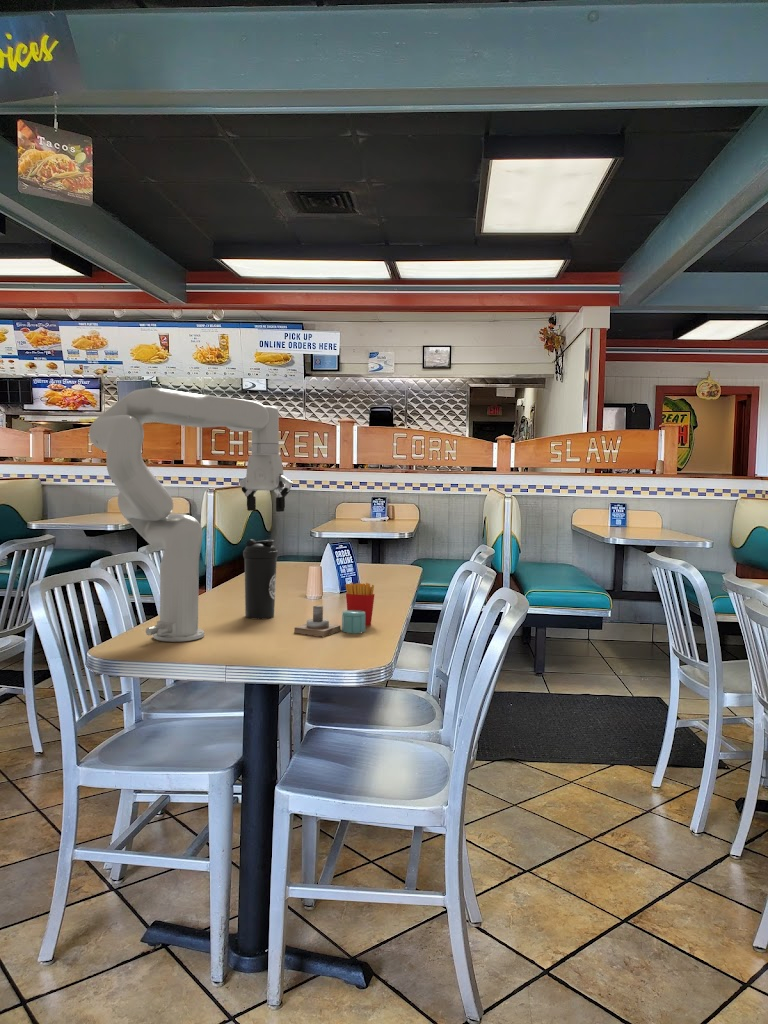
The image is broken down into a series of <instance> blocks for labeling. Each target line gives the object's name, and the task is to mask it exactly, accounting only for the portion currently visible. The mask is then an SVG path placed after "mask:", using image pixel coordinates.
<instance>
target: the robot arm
mask: <svg viewBox="0 0 768 1024" xmlns="http://www.w3.org/2000/svg"><path fill="white" fill-rule="evenodd" d="M279 417H280V414H279V409H278V408H277V407H276V406H271V405H264V404H262V403H260V402H259V401H255V400H249V399H242V398H241V399H240V398H235V397H225V396H215V395H208V394H199V393H193V392H192V393H191V392H188V391H187V392H185V391H180V390H174V389H168V388H164V387H163V388H162V387H147V388H140V389H135V390H133V391H131V392H129V393H128V394H127V395H125V396H123V398H121V399H120V400H118V401H117V402H116V403H114V404H113V405H112V406H111V407H109V408H108V409H106V410H105V411H104V412H103V413H102V414H100V415H99V416H98V417H97V418H96V419H94V421H93V422H92V423H91V425H90V427H89V432H88V435H89V436H88V437H89V440H90V441H91V444H93V445H94V447H95V448H97V449H99V450H100V451H104V452H106V456H105V457H106V458H105V459H106V461H105V462H106V470H107V473H108V476H109V479H110V480H111V482H113V483H112V484H114V485H115V486H116V488H117V489H118V490H119V492H118V496H117V507H118V509H119V512H120V514H121V515H122V516H123V517H124V519H125V520H126V521H127V522H128V523H129V524H130V525H131V527H133V529H134V530H135V531H136V532H137V533H138V534H139V535H140V537H142V539H144V540H145V542H147V543H148V544H149V545H151V546H152V547H154V548H157V549H161V550H163V553H162V558H161V560H160V566H159V620H157V621H156V624H155V626H150V627H147V628H146V629H145V633H146V635H147V636H152V637H153V639H154V640H156V641H160V642H172V643H175V642H176V643H177V642H189V641H195V640H199V639H202V638H203V637H204V636H205V631H204V630H203V629H200V628H199V587H200V586H199V585H200V584H199V580H200V579H199V573H200V572H199V571H200V570H199V569H200V567H199V566H200V565H199V564H200V555H201V554H200V553H201V550H202V549H201V548H202V544H203V537H204V532H203V527H202V524H200V521H198V520H197V518H195V517H193V516H191V515H188V514H185V513H175V512H173V510H174V502H173V501H174V500H173V498H172V495H171V494H170V492H169V491H168V490H167V489H166V487H165V486H164V485H163V484H162V483H161V482H160V481H159V480H158V478H157V477H156V475H154V474H153V473H152V471H151V470H150V468H148V466H147V464H146V463H145V461H144V458H143V455H142V448H143V443H144V437H145V431H144V427H143V425H144V424H147V423H148V424H149V423H159V424H168V425H177V426H185V427H192V428H217V427H221V428H222V427H223V428H224V427H226V428H227V429H228V430H231V431H233V432H251V446H249V447H248V450H249V452H251V454H250V455H249V456H248V459H247V463H246V464H247V465H246V476H245V477H243V478H242V479H240V480H239V482H238V483H239V484H238V485H239V486H240V488H241V491H242V492H243V494H244V497H246V510H247V511H248V512H250V511H251V512H252V511H256V506H257V505H256V503H257V498H256V496H254V495H255V494H256V493H257V491H267V492H268V491H273V492H274V493H275V494H276V496H277V497H275V511H276V512H278V513H279V512H281V513H282V512H284V511H285V506H286V505H285V504H286V500H285V499H286V497H287V495H288V494H289V492H291V489H292V486H293V484H294V483H293V481H292V480H291V479H288V478H287V477H285V476H284V468H283V461H282V456H281V455H280V454H279V453H280V451H279V450H280V449H279V447H280V445H279V443H280V442H279V441H280V435H279V434H280V433H279V432H280V426H279V422H280V420H279ZM284 484H285V486H284Z"/></svg>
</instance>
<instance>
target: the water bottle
mask: <svg viewBox="0 0 768 1024" xmlns="http://www.w3.org/2000/svg"><path fill="white" fill-rule="evenodd" d="M274 542H275V540H274V539H266V540H265V539H263V540H258V541H257V540H256V539H253V538H251V539H248V540H247V542H246V546H245V548H244V550H243V551H242V556H243V557H242V558H243V559H244V600H245V601H244V602H245V603H244V606H245V607H244V608H245V609H244V610H245V614H244V615H245V616H246V617H245V618H247V617H248V618H247V619H251V618H257V619H256V620H263V619H262V618H267V619H271V618H270V617H272V618H274V617H275V604H276V583H277V582H276V580H277V559H278V557H279V550H277V547H276V546H275V545H274ZM273 616H274V617H273ZM258 618H259V619H258Z"/></svg>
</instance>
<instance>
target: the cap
mask: <svg viewBox="0 0 768 1024" xmlns="http://www.w3.org/2000/svg"><path fill="white" fill-rule="evenodd" d="M365 619H366V615H365V612H364V611H360V610H347V609H346V610H343V611H342V614H341V631H342V632H343V633H345V632H348V633H347V634H362V633H366V626H365ZM361 632H362V633H361Z"/></svg>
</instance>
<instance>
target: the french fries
mask: <svg viewBox="0 0 768 1024" xmlns="http://www.w3.org/2000/svg"><path fill="white" fill-rule="evenodd" d="M374 589H375V585H374V584H370V583H368V582H365V583H362V582H361V583H360V582H357V583H353V582H350V583H345V590H346V593H345V598H346V611H347V610H360V611H364V612H365V615H366V619H365V627H369V625H370V626H372V617H373V609H374V602H375V601H374V600H375V593H374Z"/></svg>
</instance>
